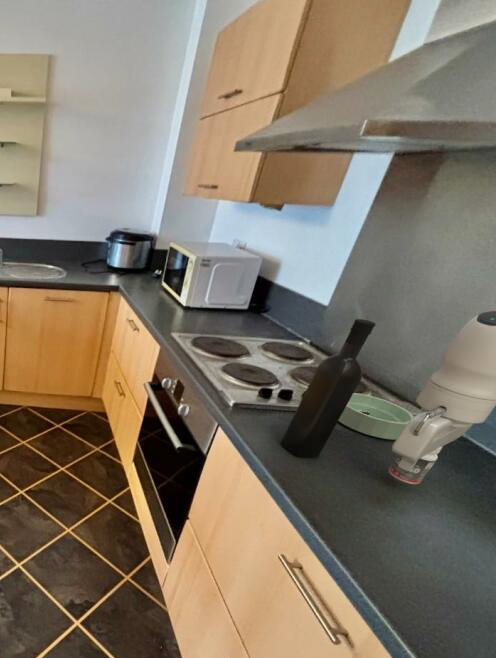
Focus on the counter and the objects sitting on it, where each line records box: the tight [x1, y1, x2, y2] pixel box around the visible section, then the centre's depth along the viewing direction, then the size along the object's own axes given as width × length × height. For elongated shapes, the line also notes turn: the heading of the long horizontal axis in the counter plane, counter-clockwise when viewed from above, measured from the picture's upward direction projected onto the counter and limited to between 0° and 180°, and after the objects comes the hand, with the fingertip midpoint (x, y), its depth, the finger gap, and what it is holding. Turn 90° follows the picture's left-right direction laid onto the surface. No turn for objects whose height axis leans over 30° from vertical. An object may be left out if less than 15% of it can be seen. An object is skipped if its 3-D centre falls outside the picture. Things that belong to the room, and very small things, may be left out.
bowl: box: [338, 392, 415, 441], centre depth 102 cm, size 15×15×5 cm
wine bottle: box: [280, 318, 376, 458], centre depth 84 cm, size 6×6×30 cm
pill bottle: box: [388, 446, 443, 485], centre depth 79 cm, size 5×5×8 cm
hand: (412, 464), depth 79 cm, fingers closed on pill bottle, 5 cm apart
